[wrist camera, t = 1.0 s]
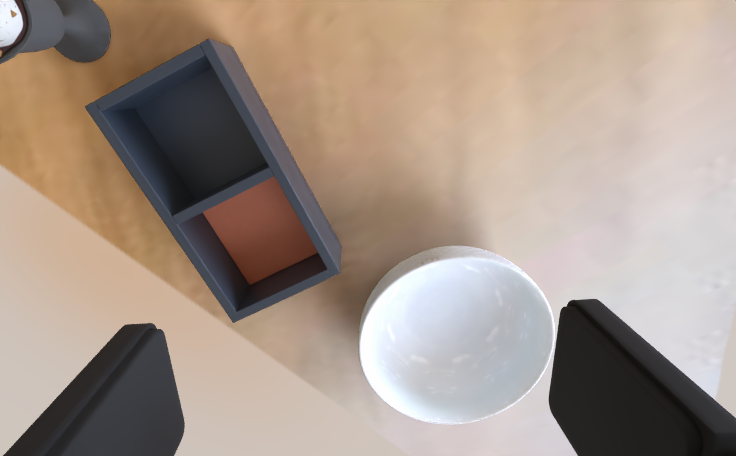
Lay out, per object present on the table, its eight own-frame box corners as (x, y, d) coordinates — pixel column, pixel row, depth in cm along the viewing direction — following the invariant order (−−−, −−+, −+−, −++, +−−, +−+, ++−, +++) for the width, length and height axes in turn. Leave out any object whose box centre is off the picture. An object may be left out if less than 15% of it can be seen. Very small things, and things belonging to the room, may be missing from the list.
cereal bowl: (531, 225, 40) (569, 253, 33) (515, 371, 45) (544, 421, 38) (354, 231, 39) (355, 261, 32) (358, 379, 44) (360, 430, 38)
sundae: (139, 53, 33) (-16, 26, 19) (66, 86, 34) (-137, 83, 20) (92, -35, 31) (-121, -137, 17) (15, 1, 32) (-253, -69, 18)
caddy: (249, 290, 40) (233, 323, 35) (127, 103, 35) (84, 106, 29) (341, 246, 39) (340, 273, 34) (232, 46, 34) (208, 38, 28)
